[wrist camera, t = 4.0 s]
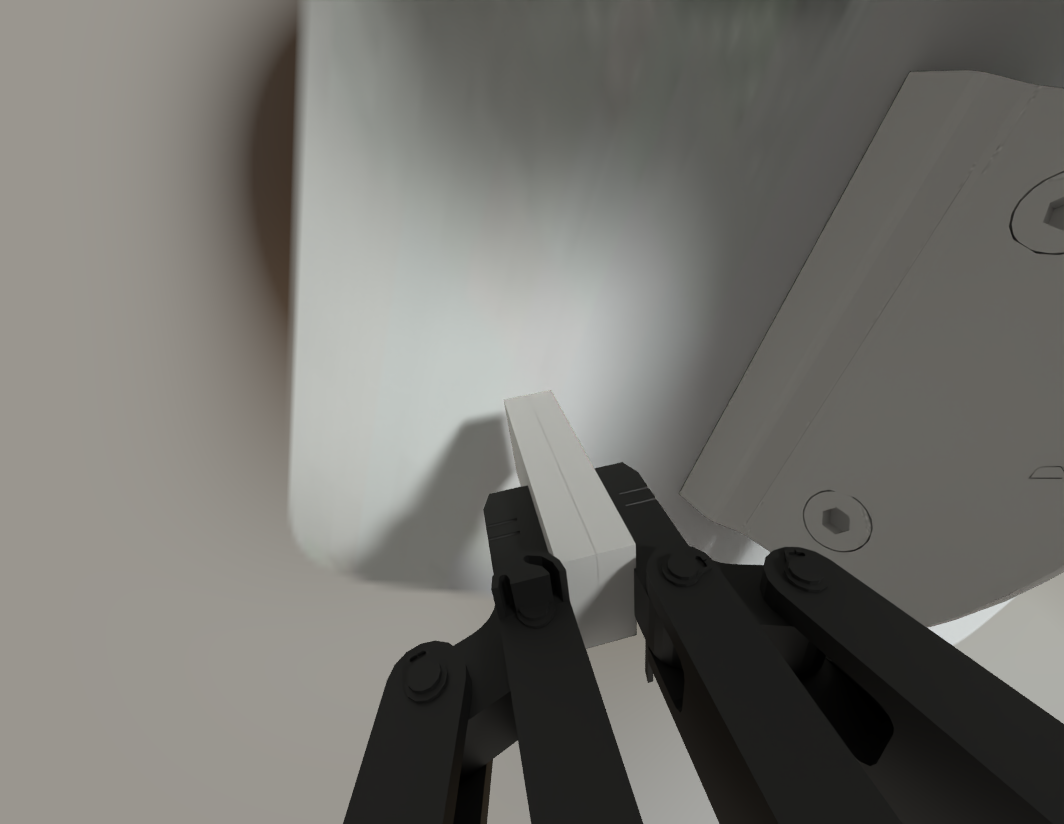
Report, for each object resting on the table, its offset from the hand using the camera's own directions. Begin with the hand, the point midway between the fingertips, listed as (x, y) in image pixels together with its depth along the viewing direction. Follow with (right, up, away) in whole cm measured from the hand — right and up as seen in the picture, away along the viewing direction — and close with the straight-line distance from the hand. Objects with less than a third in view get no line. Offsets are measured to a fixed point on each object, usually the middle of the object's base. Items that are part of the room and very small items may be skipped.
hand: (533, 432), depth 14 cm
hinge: (+12, +3, +4) cm, 13 cm away
